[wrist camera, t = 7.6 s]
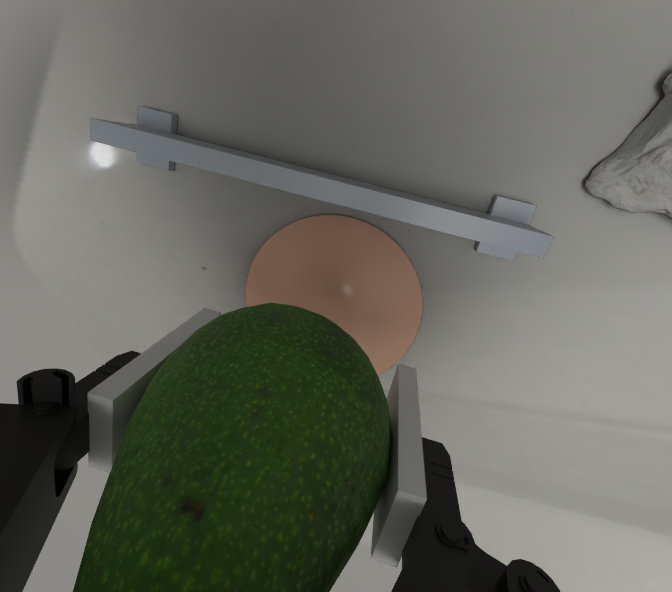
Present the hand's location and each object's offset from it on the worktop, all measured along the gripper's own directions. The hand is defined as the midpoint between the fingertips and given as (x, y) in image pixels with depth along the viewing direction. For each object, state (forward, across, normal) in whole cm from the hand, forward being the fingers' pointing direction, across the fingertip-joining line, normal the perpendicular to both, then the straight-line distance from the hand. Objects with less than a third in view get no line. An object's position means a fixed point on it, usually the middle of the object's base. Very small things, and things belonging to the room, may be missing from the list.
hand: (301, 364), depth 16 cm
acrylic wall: (+7, -2, +7) cm, 10 cm away
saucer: (+7, 0, 0) cm, 7 cm away
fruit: (+1, 0, 0) cm, 1 cm away
